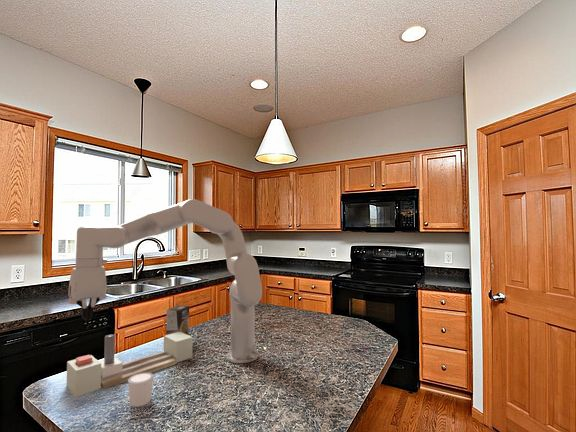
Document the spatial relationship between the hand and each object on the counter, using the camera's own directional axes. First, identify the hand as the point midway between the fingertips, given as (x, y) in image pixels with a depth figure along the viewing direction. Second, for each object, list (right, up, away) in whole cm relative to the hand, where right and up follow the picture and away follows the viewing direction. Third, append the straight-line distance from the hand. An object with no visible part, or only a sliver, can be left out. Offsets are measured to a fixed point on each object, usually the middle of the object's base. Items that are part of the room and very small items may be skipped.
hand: (87, 319), depth 102 cm
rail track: (+11, -22, +11) cm, 27 cm away
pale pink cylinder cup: (+22, -22, -9) cm, 32 cm away
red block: (0, -16, -1) cm, 16 cm away
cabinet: (+22, -23, +23) cm, 39 cm away
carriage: (+5, -19, +4) cm, 20 cm away
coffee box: (+17, -24, +37) cm, 47 cm away
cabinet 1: (0, -22, -1) cm, 22 cm away
